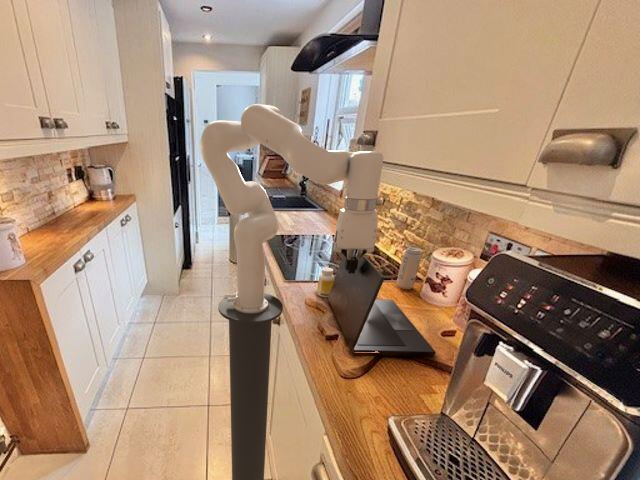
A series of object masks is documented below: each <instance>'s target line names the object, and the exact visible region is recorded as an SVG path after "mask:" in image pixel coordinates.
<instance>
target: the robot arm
mask: <svg viewBox="0 0 640 480" xmlns="http://www.w3.org/2000/svg"><path fill="white" fill-rule="evenodd" d="M259 145H262V146H264V147H266V148H267V149H270V150H271V151H272V152H274V153H276V154H277V155H278V156H280V157H282V158H283V160H284V161H285V162H286V163H287V164H288V165H289V167H290V168H292V169H293V171H296V172H297V173H299V174H301V176H304V177H305V178H307V179H310V180H311V181H312V182H315V184H319V185H323V186H324V185H325V186H326V185H332V184H334V183H339V182H342V181H347V184H346V190H345V191H346V192H345V199H344V207H343V208H341V209H339V214H338V217H337V221H336V224H335V231H334V236H333V243H334V245H333V248H332V250H333V252H335V253H338V254H342V256H343V255H344V256H345V257H346V262H345V270H346V271H347V272H348V274H351V273H352V274H355V270H357V266H358V260H360V258H361V257H362V256H363V255H366V254H370V253H373V252H375V246H376V242H377V237H378V226H379V225H378V224H379V223H378V222H379V221H378V219H379V218H378V217H379V216H378V210H377V207H378V206H382V204H383V200H382V199H378V196H379V195H378V194H379V188H380V182H381V177H382V170H383V164H384V154H383V153H382V152H380V151H348V150H342V149H341V150H340V149H337V150H334V149H333V150H327V149H326V148H323V147H322V146H320V145H318V144H316V143H314V142H312V141H311V140H310V139H308V138H307V137H306V136H305V135H304V134H303V133H302V128H301V125H299V124H298V123H296V122H294V121H292V120H291V119H289V118H288V117H286V116H284V115H283V113H282V111H281V110H280V109H279V108H278V107H277V106H274V105H270V104H262V103H255V104H254V103H253V104H251V105H248V106H247V107H245V109H244V111H243V112H242V114H241V116H240V120H224V119H223V120H215V121H212V122H210V123H208V124H207V125H206V126H205V127H204V129H203V131H202V133H201V137H200V145H199V147H200V154H201V157H202V161H203V162H204V164H205V166H206V168H207V169H208V172H209V173H210V175H211V177H212V179H213V181H214V184H215V186H216V188H217V191H218V193H219V195H220V198H221V199H222V202H223V204H224V206H225V209H226V210H227V212H228V213H229V214H231V215H233V216H241V215H245V214H247V215H248V216H246V217H243V218H242V219H240V220H239V221H238V222H237V223H236V224H235V226H234V229H233V238H234V244H235V251H236V292H233V293H234V294H233V293H224V297H225V299H228V302H231V301H233V307H234V308H235V309H236V310H237V311H239V312H242V313H250V314H253V313H259V312H262V311H264V310H266V309H267V307H268V301H267V300H266V299H265V298H264V293H265V281H266V254H265V250H264V246H263V244H264V243H265V242H267V241H270V240H271V239H273V238H274V237H276V235H277V234H278V232H279V220H278V218H277V215H276V213H275V210H274V208H273V206H272V203H271V201H270V198H269V196H268V194H267V191H266V189H264V187H263V186H262V185H261V184H260V183H259V182H257V181H251V180H248V181H245V179H244V178H243V175H242V174H241V171H240V168H239V167H238V165H237V163H236V162H235V161H234V160H233V159H232V157H231V156H230V155H229V153H235V152H243V151H247V150H250V149H252V148H255V147H257V146H259ZM352 249H355V251H354V254H353V256H352Z"/></svg>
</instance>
